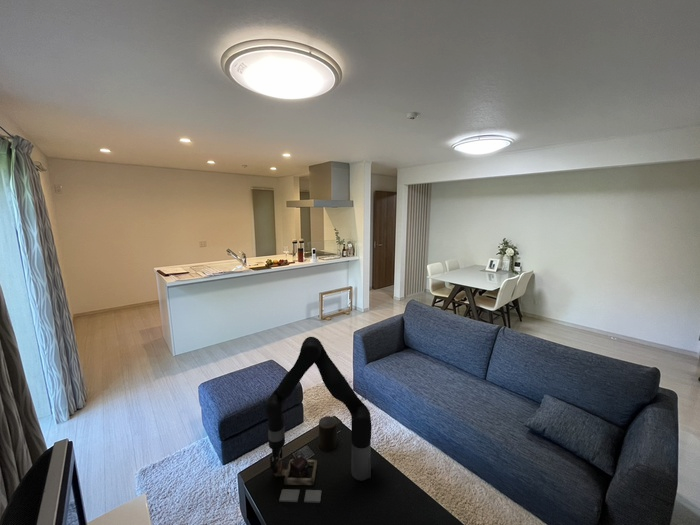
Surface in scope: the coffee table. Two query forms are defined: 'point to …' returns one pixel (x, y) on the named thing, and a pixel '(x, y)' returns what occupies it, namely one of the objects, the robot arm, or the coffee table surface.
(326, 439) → the pillar candle
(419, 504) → the coffee table surface
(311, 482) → the wooden open tray
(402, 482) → the coffee table surface
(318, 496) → the pair of grey tiles
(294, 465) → the box
